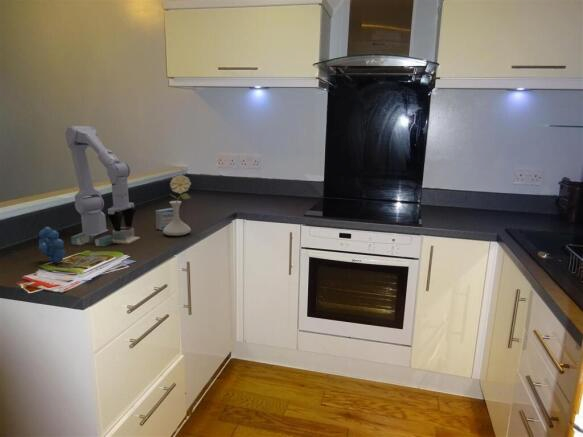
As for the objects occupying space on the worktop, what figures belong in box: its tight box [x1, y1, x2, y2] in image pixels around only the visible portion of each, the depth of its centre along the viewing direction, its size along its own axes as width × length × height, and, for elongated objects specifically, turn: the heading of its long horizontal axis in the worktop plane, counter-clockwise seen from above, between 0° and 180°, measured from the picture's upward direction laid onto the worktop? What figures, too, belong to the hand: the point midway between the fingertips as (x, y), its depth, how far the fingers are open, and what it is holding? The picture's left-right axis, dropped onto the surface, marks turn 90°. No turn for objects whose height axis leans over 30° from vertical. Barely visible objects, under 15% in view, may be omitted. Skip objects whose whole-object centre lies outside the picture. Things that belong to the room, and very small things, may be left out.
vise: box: [70, 233, 114, 247], centre depth 163 cm, size 5×14×3 cm, turn 79°
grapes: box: [38, 226, 66, 263], centre depth 139 cm, size 12×7×12 cm, turn 62°
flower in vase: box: [162, 174, 192, 237], centre depth 175 cm, size 13×11×25 cm
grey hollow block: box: [112, 226, 136, 241], centre depth 168 cm, size 6×6×4 cm
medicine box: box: [154, 207, 173, 231], centre depth 187 cm, size 8×4×9 cm, turn 138°
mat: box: [112, 236, 141, 245], centre depth 169 cm, size 8×9×1 cm
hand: (123, 228), depth 168 cm, fingers open, 7 cm apart
